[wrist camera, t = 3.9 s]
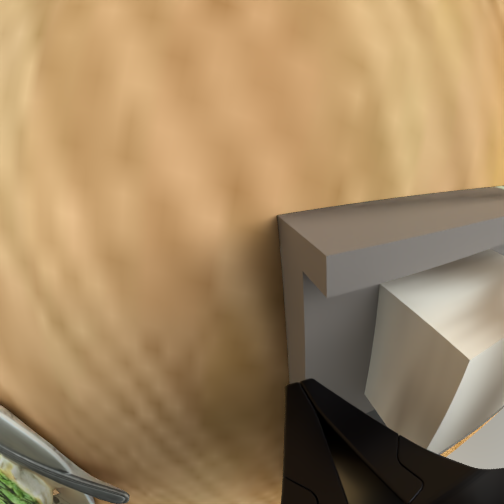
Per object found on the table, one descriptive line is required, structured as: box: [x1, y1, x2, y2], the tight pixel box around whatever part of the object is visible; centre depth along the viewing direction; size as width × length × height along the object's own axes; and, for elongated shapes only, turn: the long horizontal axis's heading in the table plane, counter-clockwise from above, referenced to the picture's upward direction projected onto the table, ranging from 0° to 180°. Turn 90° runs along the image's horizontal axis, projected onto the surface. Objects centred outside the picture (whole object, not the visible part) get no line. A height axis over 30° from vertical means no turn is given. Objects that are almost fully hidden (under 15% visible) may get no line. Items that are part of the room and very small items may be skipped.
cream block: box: [364, 249, 504, 454], centre depth 8 cm, size 6×5×4 cm
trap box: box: [277, 186, 504, 455], centre depth 12 cm, size 19×16×4 cm
